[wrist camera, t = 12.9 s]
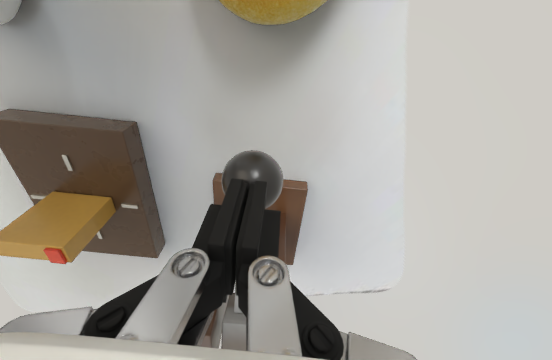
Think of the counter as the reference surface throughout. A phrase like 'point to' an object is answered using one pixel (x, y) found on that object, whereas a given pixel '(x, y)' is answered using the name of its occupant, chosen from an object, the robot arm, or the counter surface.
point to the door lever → (265, 169)
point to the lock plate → (87, 172)
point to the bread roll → (272, 10)
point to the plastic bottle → (8, 10)
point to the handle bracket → (290, 223)
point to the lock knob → (56, 227)
